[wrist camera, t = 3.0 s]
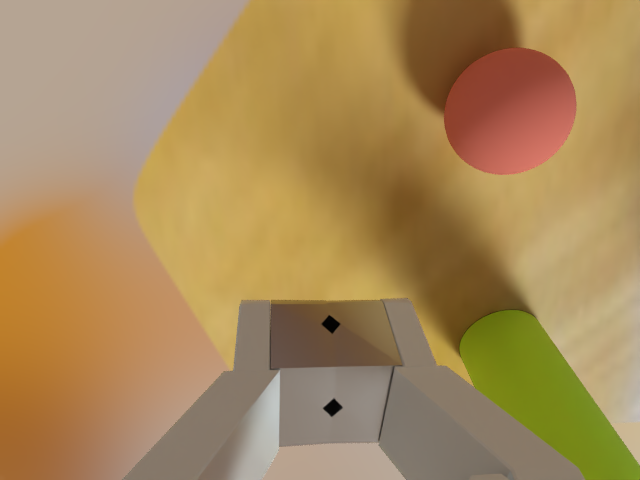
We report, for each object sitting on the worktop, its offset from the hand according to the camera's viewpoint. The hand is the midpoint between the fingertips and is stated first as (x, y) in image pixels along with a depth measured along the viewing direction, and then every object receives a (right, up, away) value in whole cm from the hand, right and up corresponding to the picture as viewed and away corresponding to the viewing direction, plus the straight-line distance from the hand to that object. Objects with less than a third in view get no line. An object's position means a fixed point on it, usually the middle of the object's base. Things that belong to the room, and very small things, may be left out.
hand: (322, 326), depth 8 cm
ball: (+8, +7, +12) cm, 17 cm away
